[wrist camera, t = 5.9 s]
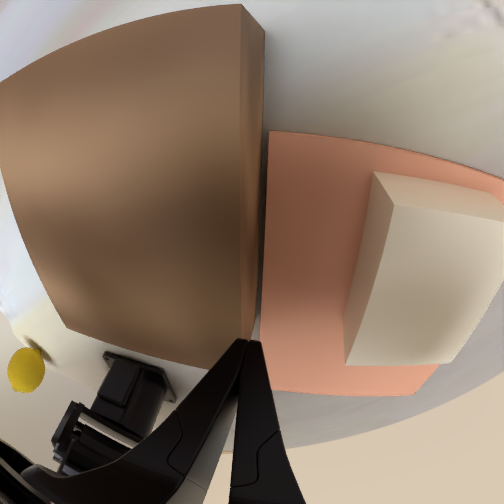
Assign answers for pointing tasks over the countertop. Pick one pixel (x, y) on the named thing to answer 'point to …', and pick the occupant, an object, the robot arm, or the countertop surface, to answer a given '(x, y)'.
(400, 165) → the mat
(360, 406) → the countertop surface
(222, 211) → the board
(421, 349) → the cream rectangular block
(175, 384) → the countertop surface
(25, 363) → the lemon
